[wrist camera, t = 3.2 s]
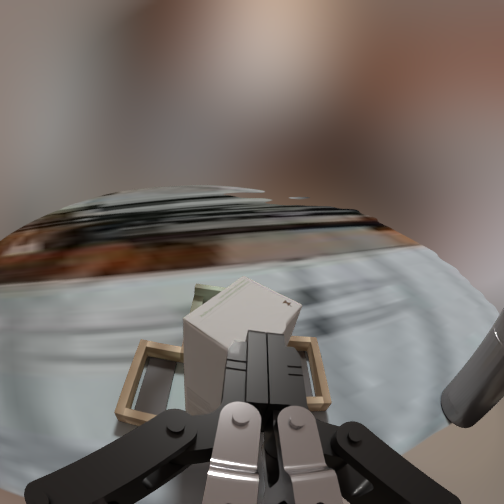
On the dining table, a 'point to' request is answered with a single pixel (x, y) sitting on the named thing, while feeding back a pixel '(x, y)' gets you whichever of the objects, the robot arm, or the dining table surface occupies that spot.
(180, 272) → the dining table surface
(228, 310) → the skincare box
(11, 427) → the dining table surface
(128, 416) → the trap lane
